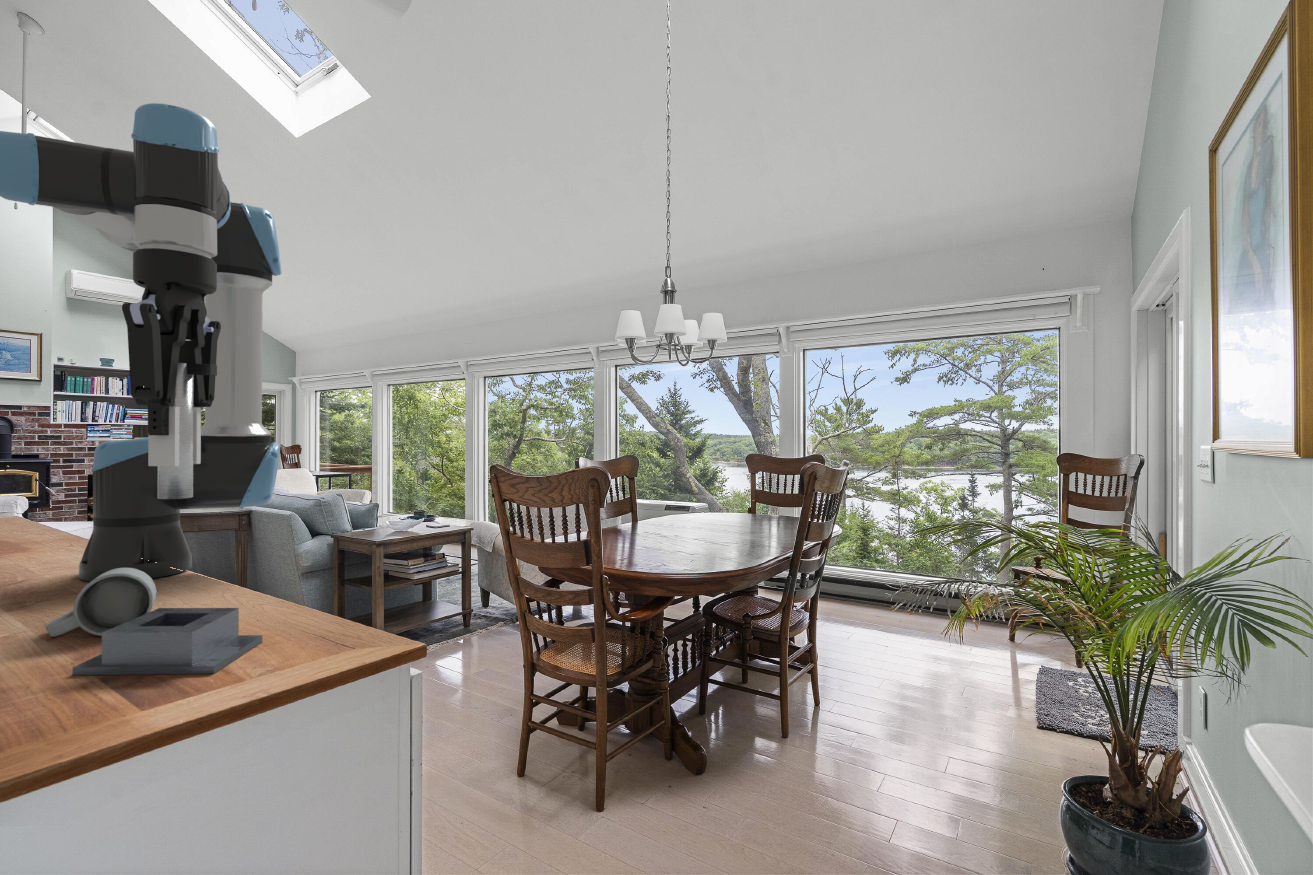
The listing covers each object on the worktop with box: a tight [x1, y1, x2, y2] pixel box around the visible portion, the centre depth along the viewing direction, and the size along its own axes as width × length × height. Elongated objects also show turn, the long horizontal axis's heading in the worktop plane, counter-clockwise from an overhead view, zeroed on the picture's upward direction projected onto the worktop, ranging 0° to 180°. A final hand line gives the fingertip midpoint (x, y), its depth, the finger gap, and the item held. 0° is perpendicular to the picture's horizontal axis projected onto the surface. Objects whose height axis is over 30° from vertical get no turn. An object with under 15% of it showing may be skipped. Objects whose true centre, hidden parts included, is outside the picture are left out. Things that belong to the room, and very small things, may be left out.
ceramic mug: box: [45, 568, 157, 638], centre depth 83 cm, size 11×8×8 cm
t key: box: [158, 363, 217, 499], centre depth 73 cm, size 8×3×15 cm, turn 95°
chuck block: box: [71, 607, 263, 676], centre depth 74 cm, size 10×14×4 cm
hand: (175, 464), depth 73 cm, fingers closed on t key, 3 cm apart
